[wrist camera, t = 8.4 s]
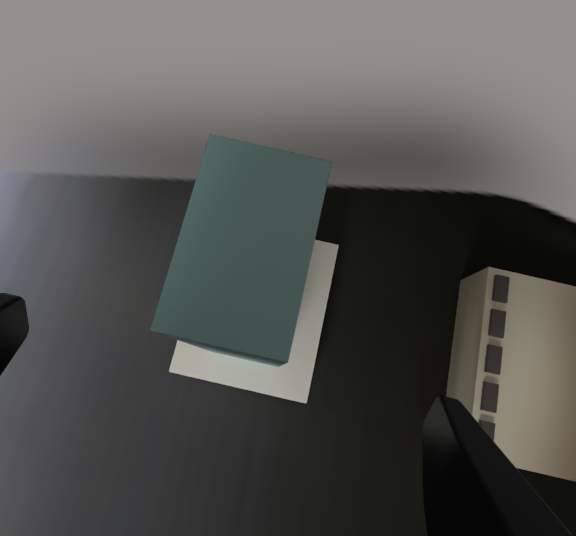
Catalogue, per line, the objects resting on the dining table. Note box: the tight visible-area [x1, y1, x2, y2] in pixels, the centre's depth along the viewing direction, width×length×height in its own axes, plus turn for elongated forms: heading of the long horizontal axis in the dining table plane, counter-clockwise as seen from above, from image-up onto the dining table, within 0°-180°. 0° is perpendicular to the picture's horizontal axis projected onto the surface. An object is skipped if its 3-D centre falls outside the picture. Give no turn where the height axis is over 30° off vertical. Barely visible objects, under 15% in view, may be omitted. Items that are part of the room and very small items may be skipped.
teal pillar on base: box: [150, 134, 339, 404], centre depth 13 cm, size 5×6×10 cm
